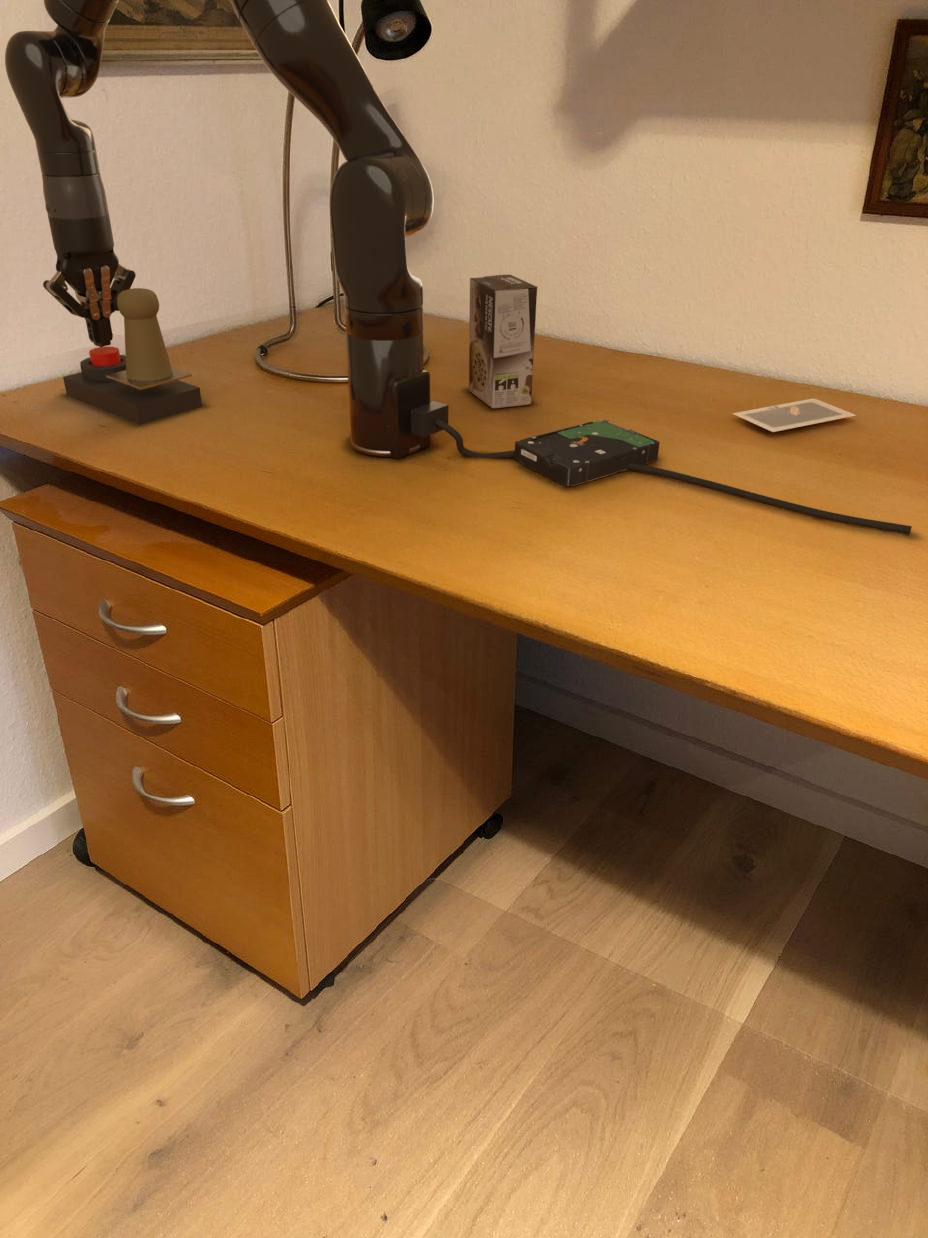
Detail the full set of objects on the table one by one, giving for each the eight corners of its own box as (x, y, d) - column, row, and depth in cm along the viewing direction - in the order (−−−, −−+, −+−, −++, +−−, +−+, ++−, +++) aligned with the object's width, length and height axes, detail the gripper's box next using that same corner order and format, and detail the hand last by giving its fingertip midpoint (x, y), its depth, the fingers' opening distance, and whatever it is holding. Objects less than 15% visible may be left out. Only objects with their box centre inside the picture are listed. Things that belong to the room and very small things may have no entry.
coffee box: (533, 404, 133) (539, 286, 125) (491, 409, 131) (494, 289, 123) (507, 385, 140) (511, 272, 132) (466, 390, 138) (468, 275, 130)
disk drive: (569, 491, 108) (659, 461, 116) (570, 468, 107) (661, 439, 114) (512, 462, 115) (600, 436, 123) (512, 441, 114) (602, 415, 121)
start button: (127, 363, 133) (124, 349, 132) (101, 369, 131) (99, 355, 130) (111, 358, 136) (108, 344, 135) (86, 364, 133) (83, 350, 132)
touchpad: (854, 422, 129) (858, 407, 127) (771, 439, 123) (774, 423, 122) (812, 405, 135) (815, 390, 133) (730, 421, 129) (733, 405, 127)
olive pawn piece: (179, 368, 130) (167, 285, 124) (163, 381, 124) (149, 295, 119) (136, 366, 130) (122, 283, 124) (118, 379, 125) (103, 293, 119)
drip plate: (191, 376, 128) (191, 373, 128) (140, 389, 122) (140, 387, 122) (157, 364, 132) (157, 362, 132) (106, 377, 127) (105, 374, 127)
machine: (202, 406, 131) (198, 374, 128) (139, 425, 124) (133, 391, 122) (128, 379, 140) (123, 349, 138) (66, 395, 134) (60, 363, 132)
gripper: (45, 220, 116) (73, 360, 125) (138, 209, 125) (158, 340, 134) (14, 213, 120) (44, 349, 130) (107, 203, 129) (128, 331, 138)
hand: (102, 344), depth 132 cm, fingers closed
